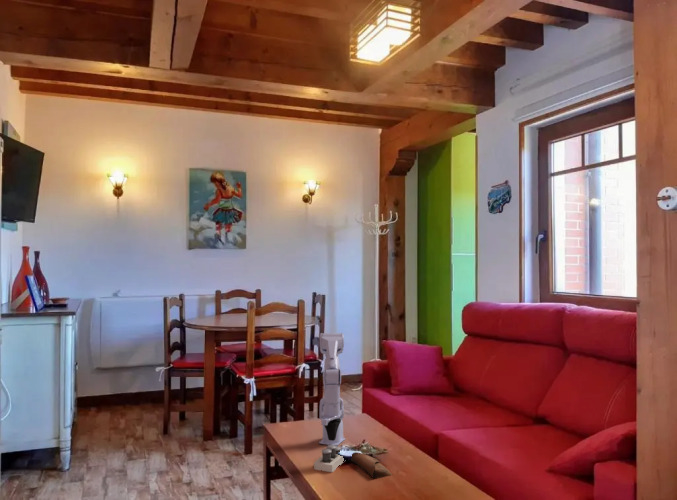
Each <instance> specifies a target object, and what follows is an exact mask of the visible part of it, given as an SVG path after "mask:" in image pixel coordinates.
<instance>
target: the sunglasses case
mask: <svg viewBox="0 0 677 500" xmlns="http://www.w3.org/2000/svg"><path fill="white" fill-rule="evenodd" d="M351 455H352V458H351V460H350V462H352V463H354V464H355V465H357V466H358V467H360V468H361V469H362V470H363V471H364V472H366V473H367V474H368V475H369V476H371V477H372V478H373V479H374V480H375V479H381V478H386V477H390V476H393V473H392V472H391V471H390V470H389V469H388V468H386V467H385V466H384V465H383V464H382V463H380V460H378V459H377V458H375V457H372V456H370V455H368V454H366V453H362V452H357V451H356V452H352V453H351Z"/></svg>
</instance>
